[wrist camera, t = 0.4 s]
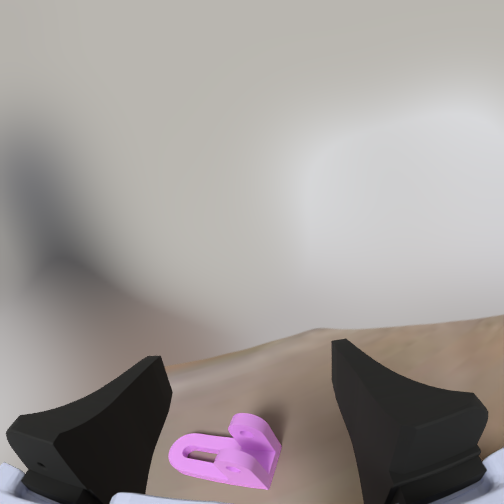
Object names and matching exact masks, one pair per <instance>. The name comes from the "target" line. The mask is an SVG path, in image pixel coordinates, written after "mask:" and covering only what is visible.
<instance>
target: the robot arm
mask: <svg viewBox="0 0 504 504" xmlns="http://www.w3.org/2000/svg"><path fill="white" fill-rule="evenodd" d="M332 383H333V388H334V392H335V396H336V400H337V403H338V405H339V408H340V411H341V414H342V416H343V419H344V422H345V424H346V427H347V430H348V432H349V435H350V438H351V441H352V444H353V448H354V453H355V457H356V462H357V466H358V471H359V477H360V482H361V488H362V494H363V500H364V504H504V447H503V448H501V449H500V450H498V451H496V452H494V453H492V454H491V455H489V456H488V457H486V458H485V459H484V460H483V461H481V459H480V458H479V456H478V455H480V453H481V450H480V448H479V447H478V445H477V443H478V441H479V439H480V437H481V435H482V433H483V431H484V428H485V426H486V423H487V420H488V411H487V409H486V407H485V406H484V405H483V404H482V402H481V401H480V400H479V399H478V398H477V396H476V395H475V394H474V393H469V392H459V391H450V390H445V389H440V388H436V387H432V386H428V385H425V384H422V383H419V382H416V381H413V380H411V379H408V378H406V377H404V376H402V375H399V374H397V373H395V372H393V371H391V370H390V369H388V368H386V367H385V366H383V365H381V364H380V363H378V362H376V361H375V360H373V359H372V358H371V357H369V356H368V355H366V354H365V353H364V352H362V351H361V350H360V349H359V348H357V347H356V346H355V345H353V344H352V343H351V342H350V341H348V340H347V339H341V340H334V341H332ZM172 393H173V392H172V389H171V386H170V383H169V380H168V377H167V374H166V371H165V368H164V365H163V361H162V358H161V356H147V357H146V358H144V359H143V360H141V361H140V362H138V363H137V364H135V365H134V366H133V367H131V368H130V369H128V370H127V371H126V372H124V373H123V374H122V375H120V376H119V377H117V378H116V379H114V380H113V381H111V382H110V383H108V384H107V385H105V386H104V387H102V388H101V389H99V390H97V391H95V392H93V393H92V394H90V395H88V396H86V397H84V398H82V399H79V400H77V401H74V402H72V403H69V404H67V405H65V406H61V407H58V408H55V409H51V410H48V411H44V412H39V413H33V414H27V415H20V416H19V417H18V418H17V419H16V420H15V422H14V423H13V424H12V425H11V426H10V427H9V429H8V430H7V432H6V436H7V440H8V442H9V444H10V446H11V447H12V449H13V450H14V451H15V453H16V454H17V455H18V457H19V458H20V459H21V461H22V462H23V463H24V464H25V466H26V467H27V468H28V471H27V472H26V474H25V473H24V472H23V471H21V470H20V469H18V468H16V467H14V466H11V465H10V464H7V463H5V462H3V463H2V465H1V466H0V504H232V503H224V502H216V501H199V500H186V499H175V498H166V497H159V496H151V495H145V492H146V485H147V479H148V474H149V469H150V464H151V460H152V456H153V452H154V449H155V446H156V444H157V441H158V438H159V436H160V433H161V430H162V428H163V425H164V423H165V420H166V417H167V414H168V412H169V408H170V403H171V398H172Z"/></svg>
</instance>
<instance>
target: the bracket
mask: <svg viewBox="0 0 504 504" xmlns="http://www.w3.org/2000/svg"><path fill="white" fill-rule="evenodd" d="M228 430H229V432H230V434H231V435H232V436H233V437H234V438H228V437H220V436H212V435H205V434H198V433H192V434H187V435H185V436H182V437H181V438H179V439H178V440H177V441H175V443H174V444H173V445H172V447H171V448H170V451H169V461H170V463H171V465H172V466H173V467H174V468H176V469H177V470H178V471H179V472H181V473H182V474H185V475H189V476H193V477H197V478H202V479H206V480H211V481H216V482H221V483H226V484H232V485H238V486H244V487H251V488H259V489H267V490H269V488H270V485H271V482H272V478H273V475H274V472H275V468H276V465H277V462H278V458H279V455H280V451H281V448H282V446H281V444H280V443H279V441H278V439H277V438H276V436H275V435H274V433H273V431H272V430H271V428H270V426H269V425H268V423H267V422H266V421H265V420H263V419H262V418H260V417H258V416H255V415H252V414H247V413H238V414H235V415H234V416H233V418H232V421H231V423H230V425H229V428H228ZM194 450H198V451H203V452H209V453H215V454H217V456H216V459H215V461H214V463H210V462H205V461H200V460H195V459H190V458H187V457H188V454H189V453H190V452H192V451H194Z"/></svg>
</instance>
